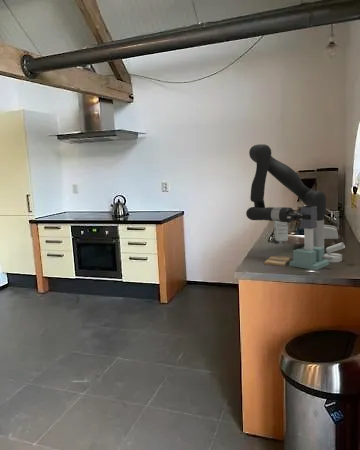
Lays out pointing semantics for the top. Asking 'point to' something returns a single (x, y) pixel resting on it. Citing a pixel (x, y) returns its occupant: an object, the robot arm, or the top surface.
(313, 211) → the steel sleeve
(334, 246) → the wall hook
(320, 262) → the vise
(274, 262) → the wooden pad
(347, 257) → the top surface
